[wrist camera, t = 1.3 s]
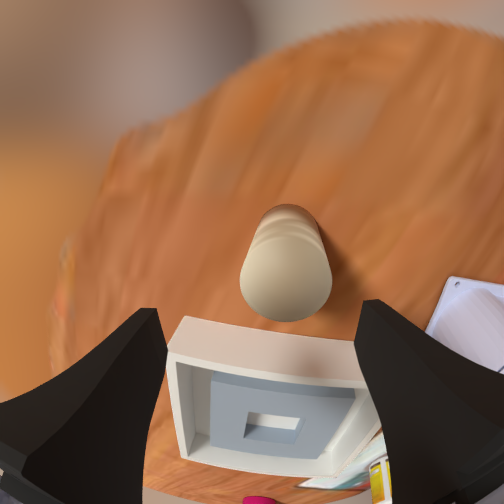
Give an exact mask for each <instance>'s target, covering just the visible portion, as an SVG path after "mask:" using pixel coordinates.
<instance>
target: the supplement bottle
mask: <svg viewBox="0 0 504 504" xmlns="http://www.w3.org/2000/svg"><path fill="white" fill-rule="evenodd" d="M369 473H370V482H371V492H372V502H373V504H392V489H391V478H390V468H389V461H388V456H385V457H382V458H380V459H377V460H376V461H374V462H373V463H372V464H371V465H370V467H369Z"/></svg>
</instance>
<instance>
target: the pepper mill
mask: <svg viewBox="0 0 504 504" xmlns="http://www.w3.org/2000/svg"><path fill="white" fill-rule="evenodd" d="M243 504H275V500H273V499H271V498H266V497H259V496H250V497H245V498H244V499H243Z"/></svg>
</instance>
